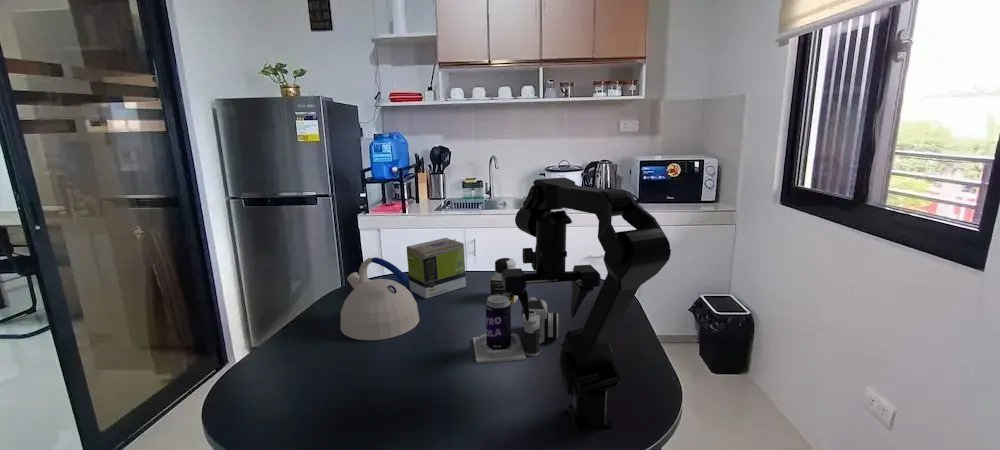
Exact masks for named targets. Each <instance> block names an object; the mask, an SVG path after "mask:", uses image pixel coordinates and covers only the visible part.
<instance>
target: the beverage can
mask: <svg viewBox="0 0 1000 450" xmlns="http://www.w3.org/2000/svg"><path fill="white" fill-rule="evenodd" d="M485 328H486V330H485V333H486V341H487V346H488V347H489V348H490V349H491V350H503V349H507V348H508V347H509V346H510V345H511V333H512V304H511V303H510V301H509V297H508V296H505V295H500V294H497V295H491V294H490V295H489V296H488V297H487V300H486V301H485Z"/></svg>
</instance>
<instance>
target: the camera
mask: <svg viewBox="0 0 1000 450" xmlns="http://www.w3.org/2000/svg"><path fill="white" fill-rule="evenodd" d="M528 305H529V321H527V320H526V317H525V314H524V311H523V308H522V307H521V308H522V309H521V315H522V321H523V350H524V353H525V355H526V356H528V357H530V356H531V357H532V356H533V357H536V356H538V355H540V345H541V344H542V343H545V338H553V339H556V338H558V337H559V330H560V329H559V326H560V325H559V313H558V312H551V313H550V312H548V303H547V301H545V300H543V299H537V298H536V297H535V296H532V297H529V299H528Z"/></svg>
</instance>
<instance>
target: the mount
mask: <svg viewBox="0 0 1000 450" xmlns="http://www.w3.org/2000/svg"><path fill="white" fill-rule="evenodd" d="M472 343H473V349H474V354H475V362H476V364H484V362H487V363H496V362H509V361H522V360H527V354H525V353H524V346H523V345H522V342H521V338H520V336H519V334H518V333H516V332H515V333H514V332H511V345H510V346H509V347H508V348H507V349H503V350H491V349H490V348H489V347H488V346H487V341H486V332H485V333H483V334H481V335H480V336H477V337H476V336H475V337H472Z"/></svg>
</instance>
